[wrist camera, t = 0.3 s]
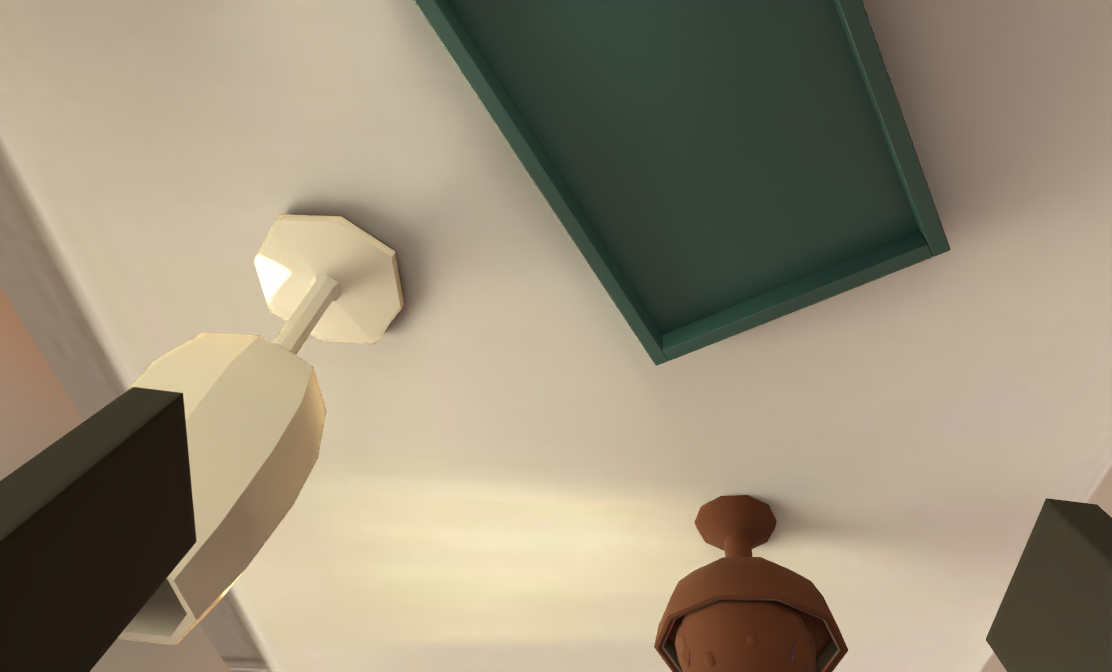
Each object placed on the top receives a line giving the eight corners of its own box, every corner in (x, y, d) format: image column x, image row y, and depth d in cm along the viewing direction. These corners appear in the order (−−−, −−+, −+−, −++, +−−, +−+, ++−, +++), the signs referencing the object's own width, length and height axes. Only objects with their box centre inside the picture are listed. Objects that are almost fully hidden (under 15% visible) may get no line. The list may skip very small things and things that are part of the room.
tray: (719, -373, 24) (724, -386, 22) (937, 230, 35) (950, 250, 34) (373, -90, 30) (356, -84, 28) (656, 344, 42) (655, 366, 40)
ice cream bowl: (815, 568, 52) (863, 796, 40) (660, 568, 54) (661, 786, 42) (822, 465, 46) (881, 699, 34) (647, 471, 48) (644, 692, 36)
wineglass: (420, 238, 39) (241, 561, 22) (394, 354, 44) (233, 687, 27) (263, 186, 38) (-44, 481, 22) (255, 311, 43) (3, 627, 27)
